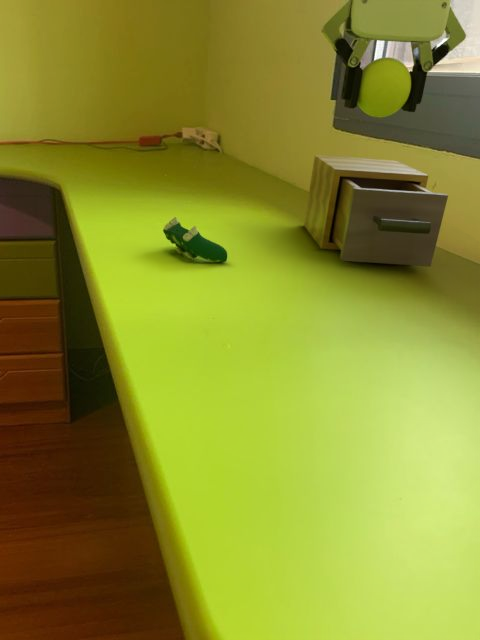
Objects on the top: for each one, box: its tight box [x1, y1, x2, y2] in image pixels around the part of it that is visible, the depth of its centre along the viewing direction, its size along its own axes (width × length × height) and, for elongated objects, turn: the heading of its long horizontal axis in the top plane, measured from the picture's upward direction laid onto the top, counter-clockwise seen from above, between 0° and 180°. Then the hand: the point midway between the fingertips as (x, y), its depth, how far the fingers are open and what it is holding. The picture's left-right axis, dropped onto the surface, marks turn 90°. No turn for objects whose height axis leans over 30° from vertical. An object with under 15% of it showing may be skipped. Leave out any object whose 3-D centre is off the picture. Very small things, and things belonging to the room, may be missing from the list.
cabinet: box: [303, 154, 429, 251], centre depth 103 cm, size 16×13×11 cm
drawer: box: [330, 176, 449, 267], centre depth 91 cm, size 19×12×9 cm, turn 178°
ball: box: [357, 56, 411, 118], centre depth 77 cm, size 6×6×6 cm
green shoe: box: [162, 216, 228, 263], centre depth 89 cm, size 9×4×6 cm
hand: (379, 107), depth 78 cm, fingers closed on ball, 5 cm apart
